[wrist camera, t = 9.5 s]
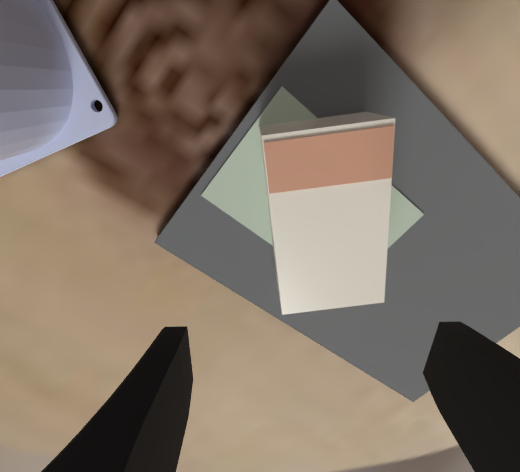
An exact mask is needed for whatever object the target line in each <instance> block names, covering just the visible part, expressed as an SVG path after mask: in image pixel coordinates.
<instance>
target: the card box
mask: <svg viewBox="0 0 520 472" xmlns="http://www.w3.org/2000/svg"><path fill="white" fill-rule="evenodd" d="M259 133H260V141H261V150H262V158H263V167H264V175H265V184H266V192H267V201H268V209H269V218H270V226H271V235H272V243H273V252H274V261H275V269H276V278H277V284H278V291H279V297H280V304H281V311H282V315H285V314H293V313H301V312H309V311H318V310H326V309H334V308H342V307H351V306H359V305H367V304H376V303H384V298H385V282H386V265H387V249H388V232H389V216H390V200H391V183H392V167H393V150H394V134H395V118H393V117H389V116H384V115H379V114H375V113H370V112H360V113H352V114H345V115H337V116H330V117H322V118H315V119H307V120H300V121H292V122H284V123H277V124H269V125H262V126H259Z"/></svg>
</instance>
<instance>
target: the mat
mask: <svg viewBox="0 0 520 472" xmlns="http://www.w3.org/2000/svg"><path fill="white" fill-rule="evenodd" d="M360 112H370V113H375V114H379V115H384V116H389V117H393V118H395V134H394V150H393V167H392V183H391V200H390V216H389V232H388V249H387V265H386V282H385V298H384V303H376V304H367V305H359V306H351V307H342V308H334V309H326V310H318V311H309V312H301V313H293V314H285V315H282V311H281V304H280V297H279V291H278V284H277V278H276V269H275V261H274V252H273V243H272V235H271V226H270V218H269V209H268V201H267V192H266V184H265V175H264V167H263V158H262V150H261V141H260V133H259V126H262V125H269V124H277V123H284V122H292V121H300V120H307V119H315V118H322V117H330V116H337V115H345V114H352V113H360ZM154 243H156V244H158V245H159V246H161V247H162V248H164V249H166V250H167V251H169V252H171V253H172V254H174V255H175V256H177V257H179V258H180V259H182V260H184V261H185V262H187V263H188V264H190V265H192V266H193V267H195V268H197V269H198V270H200V271H201V272H203V273H205V274H206V275H208V276H210V277H211V278H213V279H214V280H216V281H218V282H219V283H221V284H222V285H224V286H226V287H227V288H229V289H231V290H232V291H234V292H235V293H237V294H239V295H240V296H242V297H244V298H245V299H247V300H248V301H250V302H252V303H253V304H255V305H257V306H258V307H260V308H261V309H263V310H265V311H266V312H268V313H270V314H271V315H273V316H274V317H276V318H278V319H279V320H281V321H283V322H284V323H286V324H287V325H289V326H291V327H292V328H294V329H296V330H297V331H299V332H300V333H302V334H304V335H305V336H307V337H309V338H310V339H312V340H313V341H315V342H317V343H318V344H320V345H322V346H323V347H325V348H326V349H328V350H330V351H331V352H333V353H335V354H336V355H338V356H339V357H341V358H343V359H344V360H346V361H348V362H349V363H351V364H352V365H354V366H356V367H357V368H359V369H361V370H362V371H364V372H365V373H367V374H369V375H370V376H372V377H374V378H375V379H377V380H378V381H380V382H382V383H383V384H385V385H386V386H388V387H390V388H391V389H393V390H395V391H396V392H398V393H399V394H401V395H403V396H404V397H406V398H408V399H409V400H411V401H412V402H414V401H415V400H417V399H418V398H419V397H421V396H422V395H424V394H425V393H426V392H428V391H429V390H430V389H429V387H428V384H427V382H426V380H425V377H424V375H423V370H424V367H425V364H426V361H427V358H428V355H429V352H430V349H431V346H432V343H433V340H434V337H435V334H436V331H437V328H438V324H439V322H457V321H460V322H462V323H464V324H465V325H467V326H469V327H471V328H472V329H474V330H476V331H477V332H479V333H480V334H482V335H484V336H485V337H487V338H488V339H490V340H491V341H493V342H495V343H497V342H498V341H500V340H501V339H503V338H504V337H505V336H507V335H508V334H510V333H511V332H512V331H514V330H515V329H517V328H518V327H519V326H520V197H519V196H518V195H517V194H516V193H515V192H514V191H513V190H512V189H511V188H510V187H509V185H508V184H507V183H506V182H505V181H504V180H503V179H502V178H501V177H500V176H499V175H498V174H497V172H496V171H495V170H494V169H493V168H492V167H491V166H490V165H489V164H488V163H487V162H486V161H485V160H484V158H483V157H482V156H481V155H480V154H479V153H478V152H477V151H476V150H475V149H474V148H473V147H472V145H471V144H470V143H469V142H468V141H467V140H466V139H465V138H464V137H463V136H462V135H461V134H460V133H459V131H458V130H457V129H456V128H455V127H454V126H453V125H452V124H451V123H450V122H449V121H448V120H447V118H446V117H445V116H444V115H443V114H442V113H441V112H440V111H439V110H438V109H437V108H436V107H435V105H434V104H433V103H432V102H431V101H430V100H429V99H428V98H427V97H426V96H425V95H424V94H423V93H422V91H421V90H420V89H419V88H418V87H417V86H416V85H415V84H414V83H413V82H412V81H411V80H410V78H409V77H408V76H407V75H406V74H405V73H404V72H403V71H402V70H401V69H400V68H399V67H398V66H397V64H396V63H395V62H394V61H393V60H392V59H391V58H390V57H389V56H388V55H387V54H386V53H385V51H384V50H383V49H382V48H381V47H380V46H379V45H378V44H377V43H376V42H375V41H374V40H373V38H372V37H371V36H370V35H369V34H368V33H367V32H366V31H365V30H364V29H363V28H362V27H361V26H360V24H359V23H358V22H357V21H356V20H355V19H354V18H353V17H352V16H351V15H350V14H349V13H348V11H347V10H346V9H345V8H344V7H343V6H342V5H341V4H340V3H339V2H338V1H337V0H329V1H328V2H327V4H326V5H325V6H324V8H323V9H322V11H321V12H320V13H319V15H318V16H317V17H316V19H315V20H314V22H313V23H312V24H311V26H310V27H309V28H308V30H307V31H306V33H305V34H304V35H303V37H302V38H301V40H300V41H299V42H298V44H297V45H296V46H295V48H294V49H293V51H292V52H291V53H290V55H289V56H288V57H287V59H286V60H285V62H284V63H283V64H282V66H281V67H280V69H279V70H278V71H277V73H276V74H275V75H274V77H273V78H272V80H271V81H270V82H269V84H268V85H267V87H266V88H265V89H264V91H263V92H262V93H261V95H260V96H259V98H258V99H257V100H256V102H255V103H254V104H253V106H252V107H251V109H250V110H249V111H248V113H247V114H246V116H245V117H244V118H243V120H242V121H241V122H240V124H239V125H238V127H237V128H236V129H235V131H234V132H233V133H232V135H231V136H230V138H229V139H228V140H227V142H226V143H225V145H224V146H223V147H222V149H221V150H220V151H219V153H218V154H217V156H216V157H215V158H214V160H213V161H212V163H211V164H210V165H209V167H208V168H207V169H206V171H205V172H204V174H203V175H202V176H201V178H200V179H199V180H198V182H197V183H196V185H195V186H194V187H193V189H192V190H191V192H190V193H189V194H188V196H187V197H186V198H185V200H184V201H183V203H182V204H181V205H180V207H179V208H178V210H177V211H176V212H175V214H174V215H173V216H172V218H171V219H170V221H169V222H168V223H167V225H166V226H165V227H164V229H163V230H162V232H161V233H160V234H159V236H158V237H157V239H156V240H155V242H154Z"/></svg>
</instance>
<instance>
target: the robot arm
mask: <svg viewBox="0 0 520 472" xmlns="http://www.w3.org/2000/svg"><path fill="white" fill-rule="evenodd" d="M96 100H99V101H100V102H101V103H102V106H103V108H102V111H101V112H100V111H98V110H97V109H96V108H95V105H94V103H95V101H96ZM116 122H117V115H116V112H115V110H114V109H113V107H112V105H111V103H110V101H109V100H108V98H107V96H106V94H105V92H104V91H103V89H102V87H101V85H100V84H99V82H98V80H97V78H96V76H95V75H94V73H93V71H92V69H91V67H90V66H89V64H88V62H87V60H86V58H85V57H84V55H83V53H82V51H81V50H80V48H79V46H78V44H77V42H76V41H75V39H74V37H73V35H72V33H71V32H70V30H69V28H68V26H67V24H66V23H65V21H64V19H63V17H62V16H61V14H60V12H59V10H58V8H57V7H56V5H55V3H54V1H53V0H0V177H2V176H4V175H6V174H8V173H11V172H13V171H15V170H17V169H19V168H22V167H24V166H26V165H28V164H31V163H33V162H35V161H37V160H39V159H42V158H44V157H46V156H48V155H51V154H53V153H55V152H57V151H59V150H62V149H64V148H66V147H68V146H71V145H73V144H75V143H77V142H79V141H82V140H84V139H86V138H88V137H91V136H93V135H95V134H97V133H100V132H102V131H104V130H106V129H108V128H111V127H113V126H114V125H115V124H116ZM423 375H424V377H425V380H426V382H427V384H428V387H429V389H430V392H431V394H432V396H433V398H434V401H435V403H436V405H437V407H438V409H439V411H440V413H441V415H442V416H443V418H444V420H445V422H446V423H447V425H448V427H449V429H450V430H451V432H452V434H453V435H454V437H455V439H456V441H457V442H458V444H459V446H460V447H461V449H462V451H463V453H464V454H465V456H466V457H467V459H468V461H469V463H470V464H471V466H472V468H473V470H474V471H475V472H520V359H519V358H518V357H516V356H515V355H513V354H512V353H510V352H509V351H507V350H505V349H504V348H502V347H501V346H499V345H498V344H496V343H495V342H493V341H491V340H490V339H488V338H487V337H485V336H484V335H482V334H480V333H479V332H477V331H476V330H474V329H472V328H471V327H469V326H467V325H465V324H464V323H462V322H460V321H457V322H439V324H438V328H437V331H436V334H435V337H434V340H433V343H432V346H431V349H430V352H429V355H428V358H427V361H426V364H425V367H424V370H423ZM192 384H193V373H192V365H191V356H190V347H189V339H188V330H187V327H165V328H163V329H162V330H161V332H160V333H159V334H158V336H157V337H156V339H155V340H154V341H153V343H152V344H151V346H150V347H149V348H148V350H147V351H146V352H145V354H144V355H143V356H142V358H141V359H140V360H139V362H138V363H137V364H136V366H135V367H134V368H133V369H132V371H131V372H130V373H129V374H128V376H127V377H126V378H125V379H124V381H123V382H122V383H121V384H120V386H119V387H118V388H117V389H116V391H115V392H114V393H113V394H112V395H111V397H110V398H109V399H108V400H107V401H106V402H105V404H104V405H103V406H102V407H101V408H100V409H99V410H98V412H97V413H96V414H95V415H94V416H93V417H92V418H91V419H90V421H89V422H88V423H87V424H86V425H85V426H84V427H83V429H82V430H81V431H80V432H79V433H78V434H77V435H76V436H75V437H74V438H73V439H72V441H71V442H70V443H69V444H68V445H67V446H66V447H65V448H64V449H63V450H62V451H61V452H60V453H59V454H58V455H57V456H56V457H55V458H54V459H53V460H52V461H51V462H50V464H48V465H47V466H46V468H44V469H43V470H42V472H176V468H177V464H178V460H179V455H180V451H181V447H182V442H183V438H184V434H185V429H186V425H187V420H188V415H189V408H190V400H191V392H192Z"/></svg>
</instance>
